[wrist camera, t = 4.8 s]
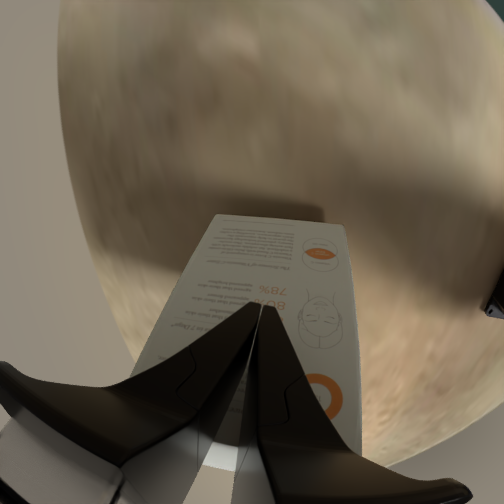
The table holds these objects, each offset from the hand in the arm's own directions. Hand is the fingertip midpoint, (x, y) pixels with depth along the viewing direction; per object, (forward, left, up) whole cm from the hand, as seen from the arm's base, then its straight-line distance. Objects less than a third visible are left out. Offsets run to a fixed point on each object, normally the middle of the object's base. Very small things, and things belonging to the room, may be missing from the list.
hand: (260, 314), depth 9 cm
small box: (0, +2, -10) cm, 10 cm away
